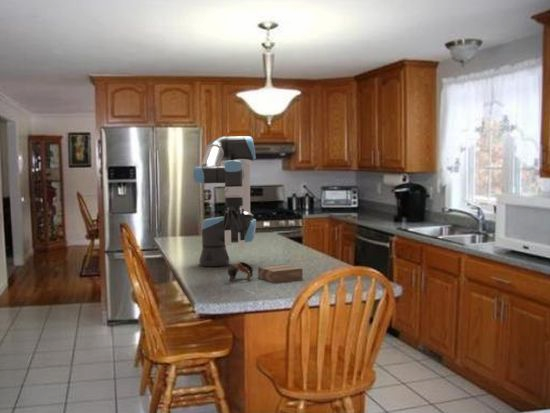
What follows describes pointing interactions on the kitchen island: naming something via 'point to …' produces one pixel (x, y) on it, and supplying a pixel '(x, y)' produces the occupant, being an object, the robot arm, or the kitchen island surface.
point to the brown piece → (241, 265)
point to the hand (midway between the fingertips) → (234, 246)
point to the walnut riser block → (280, 273)
